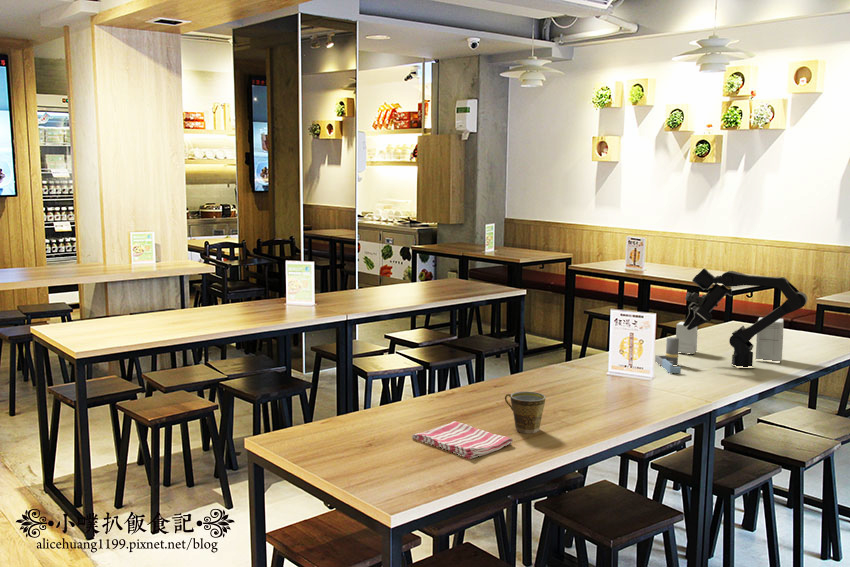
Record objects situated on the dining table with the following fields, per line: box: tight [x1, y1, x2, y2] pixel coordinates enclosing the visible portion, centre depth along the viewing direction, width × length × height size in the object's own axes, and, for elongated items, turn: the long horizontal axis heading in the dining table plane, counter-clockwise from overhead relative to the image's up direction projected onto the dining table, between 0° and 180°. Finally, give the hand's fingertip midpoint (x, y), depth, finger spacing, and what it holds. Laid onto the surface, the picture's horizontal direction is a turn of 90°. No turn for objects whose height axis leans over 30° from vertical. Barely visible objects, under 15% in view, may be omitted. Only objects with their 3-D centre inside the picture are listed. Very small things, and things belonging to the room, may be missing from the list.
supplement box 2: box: [755, 316, 784, 362], centre depth 305 cm, size 10×9×17 cm
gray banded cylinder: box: [665, 337, 679, 366], centre depth 298 cm, size 5×5×10 cm
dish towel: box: [411, 420, 513, 460], centre depth 209 cm, size 17×23×4 cm
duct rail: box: [654, 354, 682, 374], centre depth 294 cm, size 4×20×4 cm, turn 178°
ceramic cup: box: [504, 391, 546, 434], centre depth 220 cm, size 13×10×10 cm
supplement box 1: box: [675, 321, 699, 354], centre depth 319 cm, size 7×7×13 cm
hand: (685, 327), depth 300 cm, fingers open, 9 cm apart
